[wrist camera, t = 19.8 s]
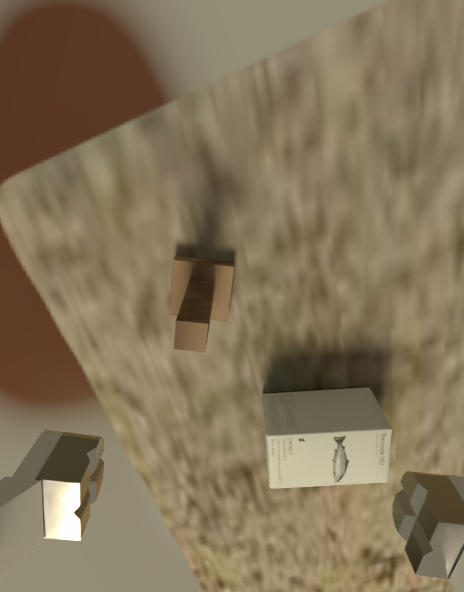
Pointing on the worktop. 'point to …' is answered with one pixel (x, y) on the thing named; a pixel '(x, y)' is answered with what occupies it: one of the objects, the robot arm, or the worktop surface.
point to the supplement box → (325, 438)
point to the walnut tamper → (199, 299)
